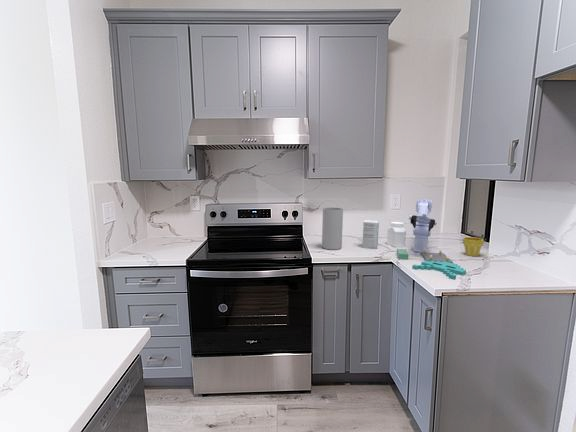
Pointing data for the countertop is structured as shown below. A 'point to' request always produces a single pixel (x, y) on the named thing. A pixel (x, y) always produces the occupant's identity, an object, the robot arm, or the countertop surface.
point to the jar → (396, 234)
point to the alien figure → (441, 268)
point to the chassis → (435, 256)
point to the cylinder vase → (332, 228)
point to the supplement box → (370, 234)
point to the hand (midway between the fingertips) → (422, 228)
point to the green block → (402, 254)
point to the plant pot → (472, 245)
